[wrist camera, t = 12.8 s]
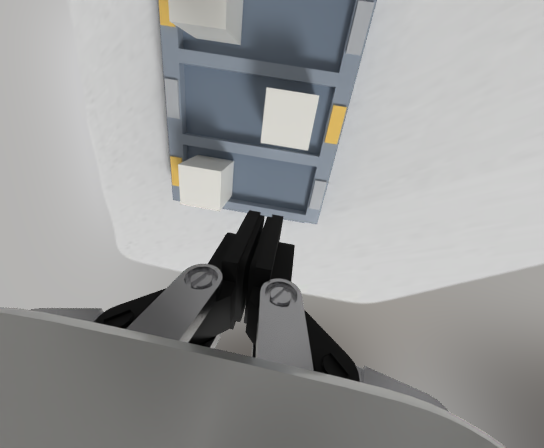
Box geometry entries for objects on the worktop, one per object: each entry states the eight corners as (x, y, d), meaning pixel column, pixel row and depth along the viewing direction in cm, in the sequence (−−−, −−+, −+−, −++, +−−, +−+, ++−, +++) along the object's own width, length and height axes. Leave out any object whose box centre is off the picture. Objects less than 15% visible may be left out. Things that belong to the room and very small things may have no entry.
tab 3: (315, 97, 21) (319, 95, 17) (306, 142, 23) (307, 150, 19) (272, 90, 21) (266, 87, 17) (267, 136, 23) (260, 142, 19)
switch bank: (374, -14, 19) (387, -35, 16) (315, 214, 28) (317, 226, 26) (173, -42, 19) (151, -67, 16) (184, 191, 29) (172, 200, 26)
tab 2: (234, 160, 24) (221, 171, 20) (232, 195, 26) (219, 211, 22) (197, 154, 24) (177, 164, 20) (198, 189, 26) (180, 204, 22)
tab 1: (244, -19, 18) (228, -55, 14) (240, 45, 20) (225, 29, 16) (194, -26, 18) (164, -64, 14) (195, 38, 20) (169, 21, 16)
